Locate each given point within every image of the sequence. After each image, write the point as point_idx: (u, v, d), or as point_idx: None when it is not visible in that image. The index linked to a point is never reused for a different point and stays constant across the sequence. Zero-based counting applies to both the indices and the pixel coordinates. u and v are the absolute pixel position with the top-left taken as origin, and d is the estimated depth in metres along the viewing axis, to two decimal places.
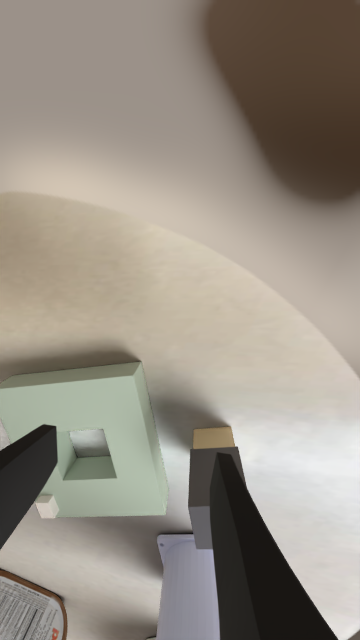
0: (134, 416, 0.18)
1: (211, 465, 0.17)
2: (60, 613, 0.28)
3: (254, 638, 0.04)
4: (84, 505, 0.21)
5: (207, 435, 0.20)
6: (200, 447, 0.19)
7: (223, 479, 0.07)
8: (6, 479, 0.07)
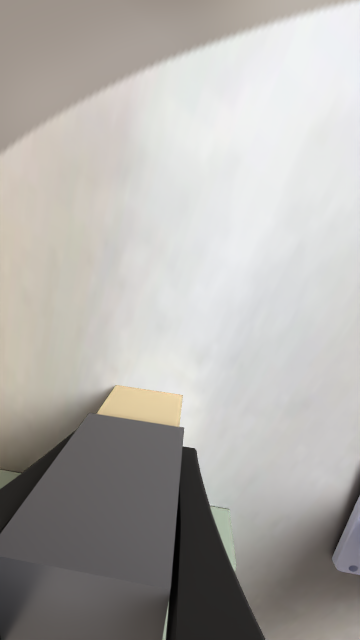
0: None
1: None
2: None
3: (175, 622, 0.04)
4: None
5: None
6: None
7: (180, 472, 0.08)
8: None
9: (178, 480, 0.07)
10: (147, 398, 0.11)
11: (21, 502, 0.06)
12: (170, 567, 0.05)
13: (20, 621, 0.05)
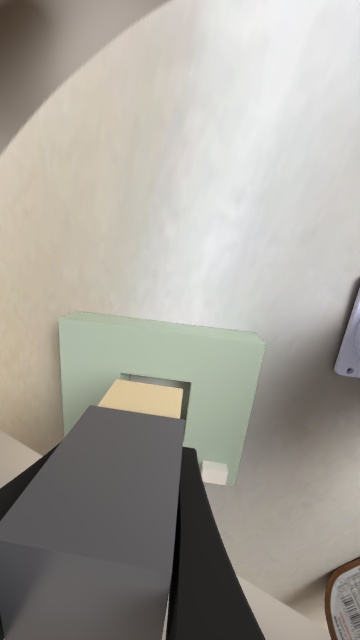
0: (108, 333, 0.16)
1: None
2: None
3: (175, 622, 0.04)
4: (225, 434, 0.17)
5: None
6: None
7: (180, 472, 0.08)
8: None
9: (179, 469, 0.07)
10: (147, 391, 0.11)
11: None
12: (171, 552, 0.05)
13: (22, 607, 0.05)
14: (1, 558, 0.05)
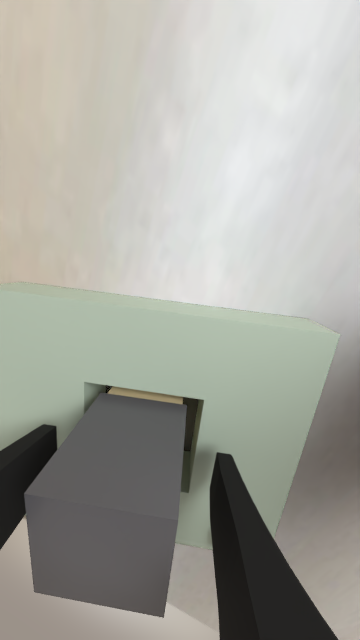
0: (61, 314, 0.09)
1: None
2: None
3: (254, 638, 0.04)
4: (258, 483, 0.10)
5: None
6: None
7: (223, 479, 0.07)
8: (6, 479, 0.07)
9: (182, 444, 0.07)
10: None
11: None
12: (177, 506, 0.06)
13: (50, 556, 0.06)
14: (35, 511, 0.06)
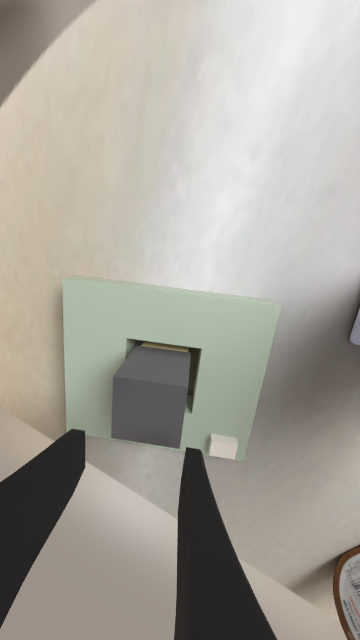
0: (114, 295, 0.15)
1: None
2: None
3: (187, 624, 0.04)
4: (236, 405, 0.16)
5: None
6: None
7: (186, 473, 0.08)
8: (44, 486, 0.07)
9: (189, 366, 0.13)
10: None
11: (13, 500, 0.06)
12: (187, 383, 0.11)
13: (122, 413, 0.12)
14: (117, 386, 0.11)
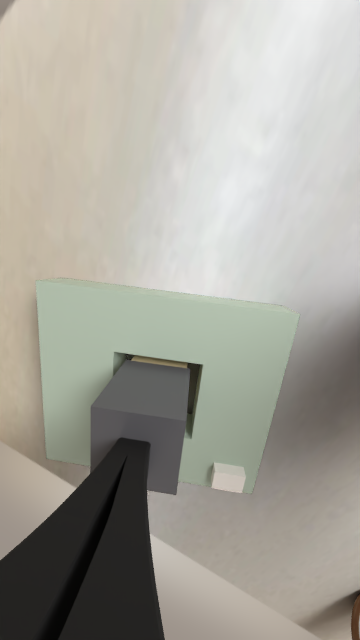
0: (98, 300, 0.12)
1: None
2: None
3: None
4: (244, 430, 0.14)
5: None
6: None
7: (125, 463, 0.08)
8: (110, 497, 0.07)
9: (188, 389, 0.11)
10: None
11: (91, 515, 0.06)
12: (185, 415, 0.09)
13: (104, 451, 0.09)
14: (96, 419, 0.09)
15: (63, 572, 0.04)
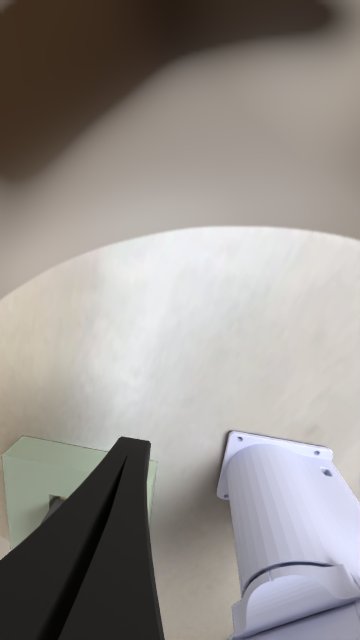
0: (38, 468, 0.21)
1: None
2: None
3: None
4: None
5: None
6: None
7: (125, 463, 0.08)
8: (110, 497, 0.07)
9: None
10: None
11: (91, 515, 0.06)
12: None
13: None
14: None
15: (63, 572, 0.04)
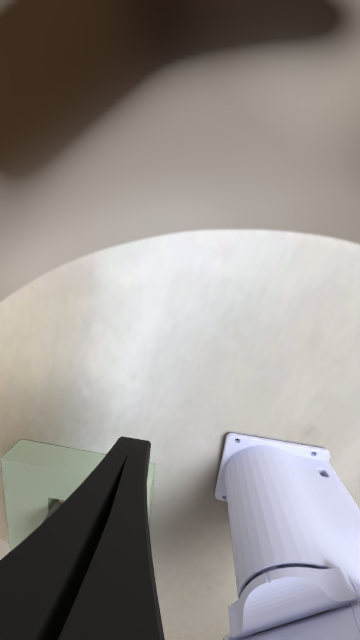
0: (37, 471, 0.21)
1: None
2: None
3: None
4: None
5: None
6: None
7: (125, 463, 0.08)
8: (110, 497, 0.07)
9: None
10: None
11: (91, 515, 0.06)
12: None
13: None
14: None
15: (63, 572, 0.04)
